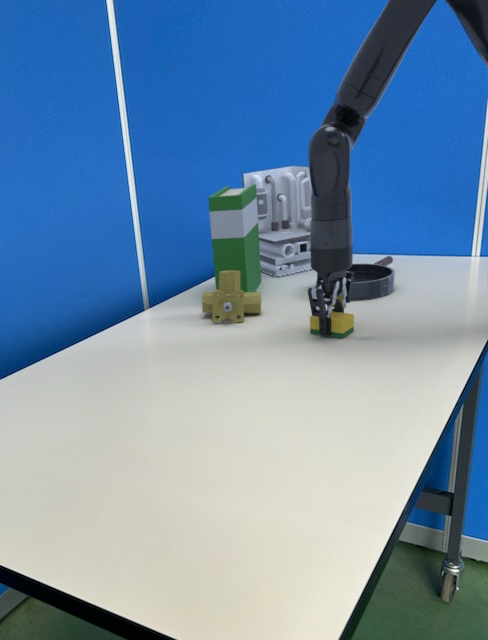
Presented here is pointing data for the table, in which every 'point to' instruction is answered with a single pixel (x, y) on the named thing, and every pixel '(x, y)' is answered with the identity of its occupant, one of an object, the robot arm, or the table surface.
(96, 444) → the table surface
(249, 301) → the ball valve
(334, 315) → the sponge
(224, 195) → the hardback book
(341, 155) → the robot arm
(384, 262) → the pan handle
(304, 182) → the grey pipe machine model
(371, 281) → the pan
